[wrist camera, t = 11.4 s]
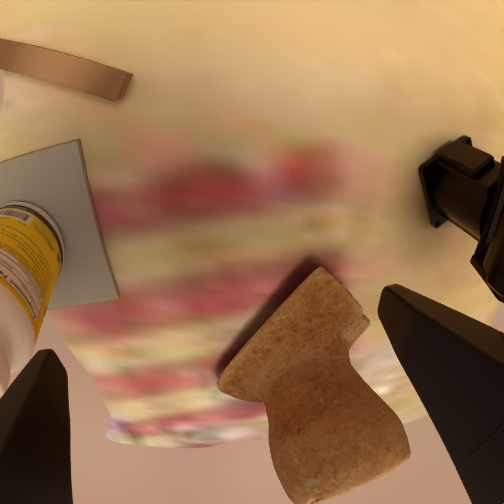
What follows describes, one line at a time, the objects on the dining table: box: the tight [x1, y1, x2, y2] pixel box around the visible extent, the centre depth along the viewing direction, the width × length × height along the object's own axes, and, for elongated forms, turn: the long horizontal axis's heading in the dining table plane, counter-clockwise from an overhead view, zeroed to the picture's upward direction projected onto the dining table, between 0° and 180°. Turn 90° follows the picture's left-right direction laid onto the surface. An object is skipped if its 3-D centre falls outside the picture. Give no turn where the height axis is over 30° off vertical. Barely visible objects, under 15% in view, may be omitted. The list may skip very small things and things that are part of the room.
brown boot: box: [217, 267, 411, 504], centre depth 22 cm, size 15×12×15 cm
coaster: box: [0, 139, 119, 310], centre depth 17 cm, size 11×11×1 cm
